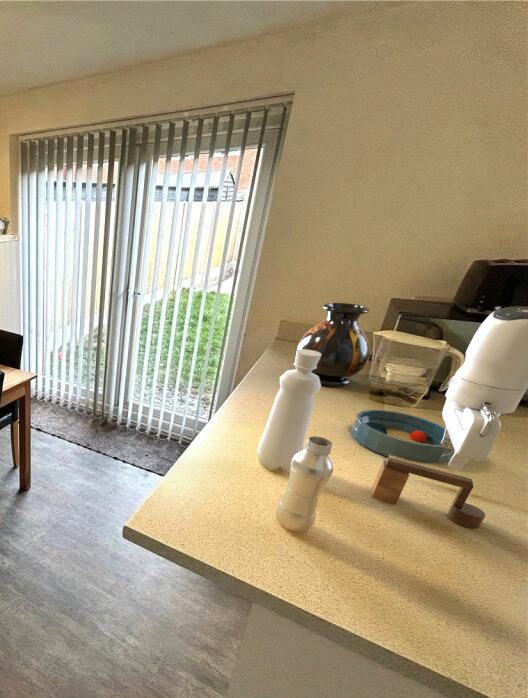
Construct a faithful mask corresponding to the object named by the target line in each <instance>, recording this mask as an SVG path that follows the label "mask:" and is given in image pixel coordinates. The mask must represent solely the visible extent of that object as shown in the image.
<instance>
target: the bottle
mask: <svg viewBox="0 0 528 698" xmlns="http://www.w3.org/2000/svg"><path fill="white" fill-rule="evenodd" d="M320 357H321V353H319V352H317V351H313V350H306V349H300V350H297V352H296V358H294V359H295V360H294V362H293V363H292V365H293V366H294V367H295V369H288V370H286V371H285V372H284V373H283V374H282V375H281V376H280V377H279V387H280V389H279V390H278V391H277V393H276V396H275V398H274V401H273V404H272V407H271V410H270V413H269V416H268V418H267V422H266V425H265V428H264V431H263V433H262V435H261V437H260V438H259V443H258V446H257V450H256V455H257V459H258V462H259V464H260V466H262V467H263V468H264V469H266V470H268V471H270V472H271V471H274V470H277V469H280V470H281V471H282V472H283V473H284V474H290V468H291V461H292V458H293V457H294V456H295V455H296V454H297V453H299V452H301V451H302V450H304V446H305V445H304V444H305V441H306V436H307V433H308V429H309V425H310V421H311V417H312V415H313V414H312V413H313V409H314V406H315V395H316V394H317V393H318V392H319V391H320V389H321V388H322V385H321V383H320V379H319V376H317V375H316V374H314V373H311V371H312V370H313V369H316V368H317V367H316V365H317V363H318V361H319V359H320Z"/></svg>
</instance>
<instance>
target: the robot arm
mask: <svg viewBox="0 0 528 698" xmlns="http://www.w3.org/2000/svg"><path fill="white" fill-rule="evenodd" d="M476 330H477V331H476V332H475V333H474V335H473V337H472V339H471V340H470V342H469V345H468V346H467V348H466V351H465V359H464V362H463V364H462V365H461V366H460V368H458V369H457V370H456V372H455V373H454V376H452V377H450V380H449V382H448V388H447V390H446V392H445V395H444V396H445V398H446V400H445V403H444V405H443V409H442V414H441V416H442V417H441V418H442V419H443V422H444V425H445V426H444V428H445V432H444V437H443V439H442V441H441V445H442V447H444V448H448V449H453V448H454V451H453V454H452V455H451V457H450V458H449V459H448V460H447V467H448V468H449V469H451V470H453V471H454V470H455V471H458V472H459V471H462V470H463V468H464V466H465V464H467V463H468V462H470V461H471V460H474V461H480V462H482V461H484V460H485V459H487V458H488V457H489V454H490V453H491V451H492V449H493V447H494V445H495V443H496V440H497V439H498V437H499V433H500V431H501V427H502V424H501V420H500V419H499V418H500V416H501V414H511V413H514V412H515V410H516V409H517V407H518V406H519V403H520V402H521V400H522V398H523V397H524V395H525V393H526V391H527V390H528V306H522V305H521V306H508V307H504V308H500V309H496V310H494V311H493V312H491V313H490V314H489V315H488V316H487V317H486V318H485V319H484V321H483V322H482V323H481V324H480V326H479V328H478V329H476Z"/></svg>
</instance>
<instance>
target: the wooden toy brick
mask: <svg viewBox="0 0 528 698" xmlns="http://www.w3.org/2000/svg"><path fill="white" fill-rule="evenodd" d="M385 463H386V460H384V459H383V460H382V463H381V465H380V468H379V470H378V472H377V474H376V477H375V479H374V481H373V484H372V486H371V498H373V499H376V500H380V501H383V502H386V503H389V504H392V505H397V504H398V501H399V499H400V497H401V494H402V492H403V491H404V489H405V486H406V484H407V481H408V479H409V477H410V473H407V472H403V471H400V470H396V469H392V468H389V467H386V464H385Z"/></svg>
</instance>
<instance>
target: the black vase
mask: <svg viewBox="0 0 528 698" xmlns="http://www.w3.org/2000/svg"><path fill="white" fill-rule="evenodd" d="M322 309H324V310H326V311H327V316H326V318H325V319H324V320H323V321H321V322H319V323H318V324H316V325H314V326H313V327H311V328H310V329H309V330H307V331H306V332H305V333H304V334H303V335H302V337H300V340H299V341H298V344H297V345H296V348H295V352H294V357H295V358H296V352H297V350H300V349H306V350H313V351H317V352H319V353H321V357H320V359H319V361H318V363H317V365H316V367H317V368H316V369H313V370H312V371H311V373H314V374H316V375H317V376H319V379H320V383H321V386H322V387H323V386H324V387H332V388H333V387H334V388H338V387H341V388H342V387H346V386H348V385H351V383H352V378H351V377H352V376H355V375H357V374H359V373H360V372H361V371H363V370H364V369H365V368H366V367H367V366H368V362H369V360H370V355H371V345H370V340H369V338H368V336H367V335H366V333H365V331H364V330H363V329H362V327H361V326H360V324H359V319H360V317H361V315H364V314H367V313H370V308H368V307H367V306H364V305H360V304H355V303H345V302H328V303H324V304H323V305H322ZM295 358H294V359H295Z"/></svg>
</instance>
